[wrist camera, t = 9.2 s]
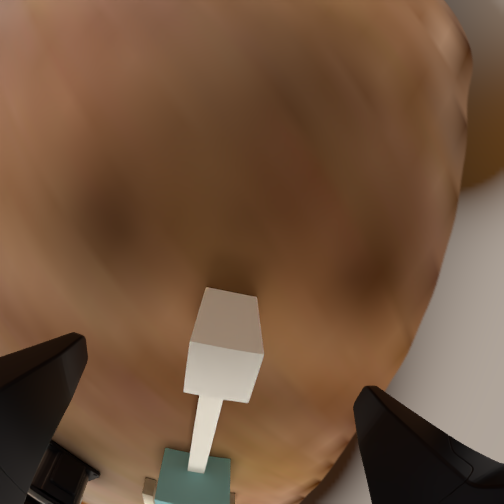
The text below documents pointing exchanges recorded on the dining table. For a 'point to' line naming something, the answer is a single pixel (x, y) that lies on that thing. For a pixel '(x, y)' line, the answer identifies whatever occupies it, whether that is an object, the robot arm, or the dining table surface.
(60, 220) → the dining table surface
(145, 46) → the dining table surface
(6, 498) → the robot arm
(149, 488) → the beige u-shaped frame
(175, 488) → the teal and white dumbbell
